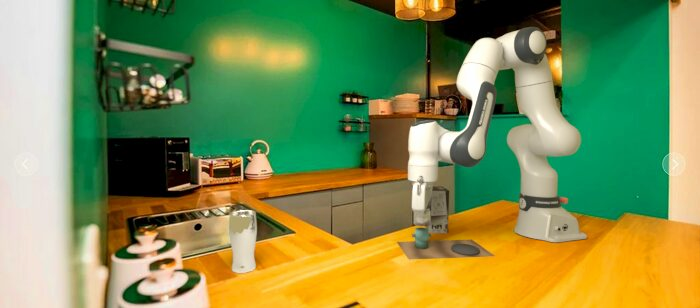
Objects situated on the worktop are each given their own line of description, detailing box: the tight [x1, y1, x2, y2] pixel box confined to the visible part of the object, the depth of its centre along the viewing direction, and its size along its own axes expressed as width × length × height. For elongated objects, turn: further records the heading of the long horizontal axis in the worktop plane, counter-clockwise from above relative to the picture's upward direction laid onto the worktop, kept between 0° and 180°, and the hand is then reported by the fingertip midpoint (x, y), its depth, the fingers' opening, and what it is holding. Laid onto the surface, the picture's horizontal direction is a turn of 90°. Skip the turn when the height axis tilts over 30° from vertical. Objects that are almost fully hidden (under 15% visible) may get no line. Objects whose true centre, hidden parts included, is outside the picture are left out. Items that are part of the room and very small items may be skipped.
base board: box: [396, 227, 495, 260], centre depth 97 cm, size 25×14×7 cm, turn 96°
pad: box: [451, 244, 480, 256], centre depth 96 cm, size 8×8×1 cm
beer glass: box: [228, 209, 258, 274], centre depth 86 cm, size 7×7×15 cm
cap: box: [412, 208, 431, 227], centre depth 98 cm, size 5×5×5 cm
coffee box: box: [424, 185, 450, 234], centre depth 116 cm, size 9×6×16 cm
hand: (421, 219), depth 99 cm, fingers closed on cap, 5 cm apart
